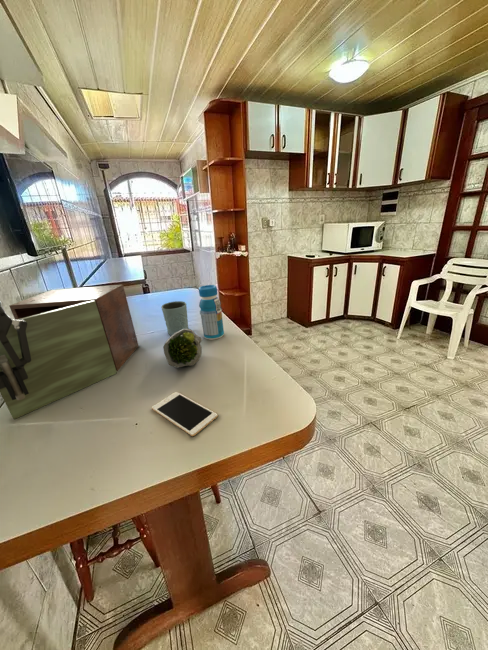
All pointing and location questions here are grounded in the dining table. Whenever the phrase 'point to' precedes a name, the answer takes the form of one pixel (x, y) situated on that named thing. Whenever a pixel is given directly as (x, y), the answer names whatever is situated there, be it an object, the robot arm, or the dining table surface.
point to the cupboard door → (57, 356)
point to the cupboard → (109, 308)
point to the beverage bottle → (210, 312)
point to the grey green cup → (175, 316)
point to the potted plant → (183, 348)
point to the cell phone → (185, 413)
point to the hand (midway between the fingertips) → (19, 394)
